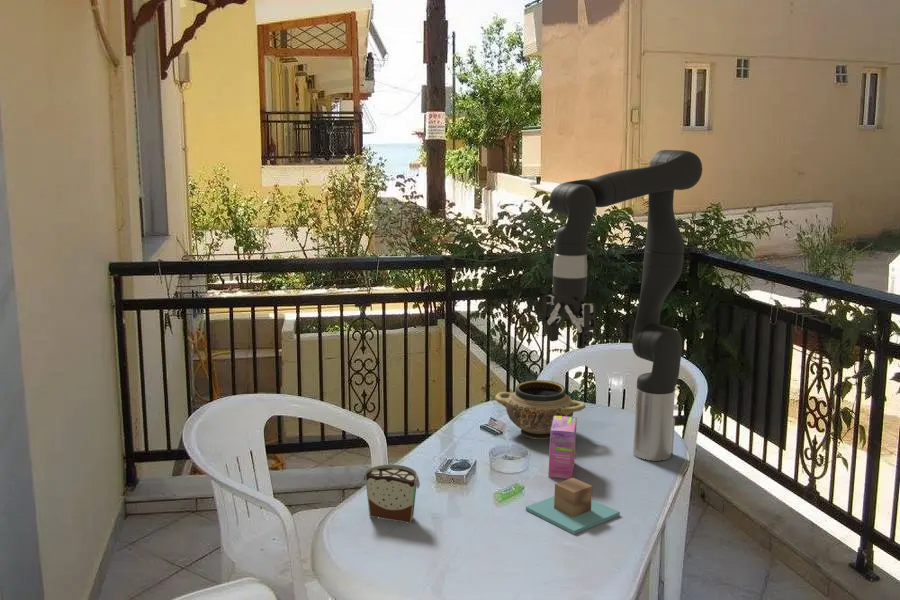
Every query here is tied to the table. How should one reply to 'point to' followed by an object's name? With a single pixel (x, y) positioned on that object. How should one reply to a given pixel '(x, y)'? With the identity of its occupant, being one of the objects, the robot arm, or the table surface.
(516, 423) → the ceramic bowl
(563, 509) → the cube
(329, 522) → the table surface
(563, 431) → the box
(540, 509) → the mat
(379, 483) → the food container
